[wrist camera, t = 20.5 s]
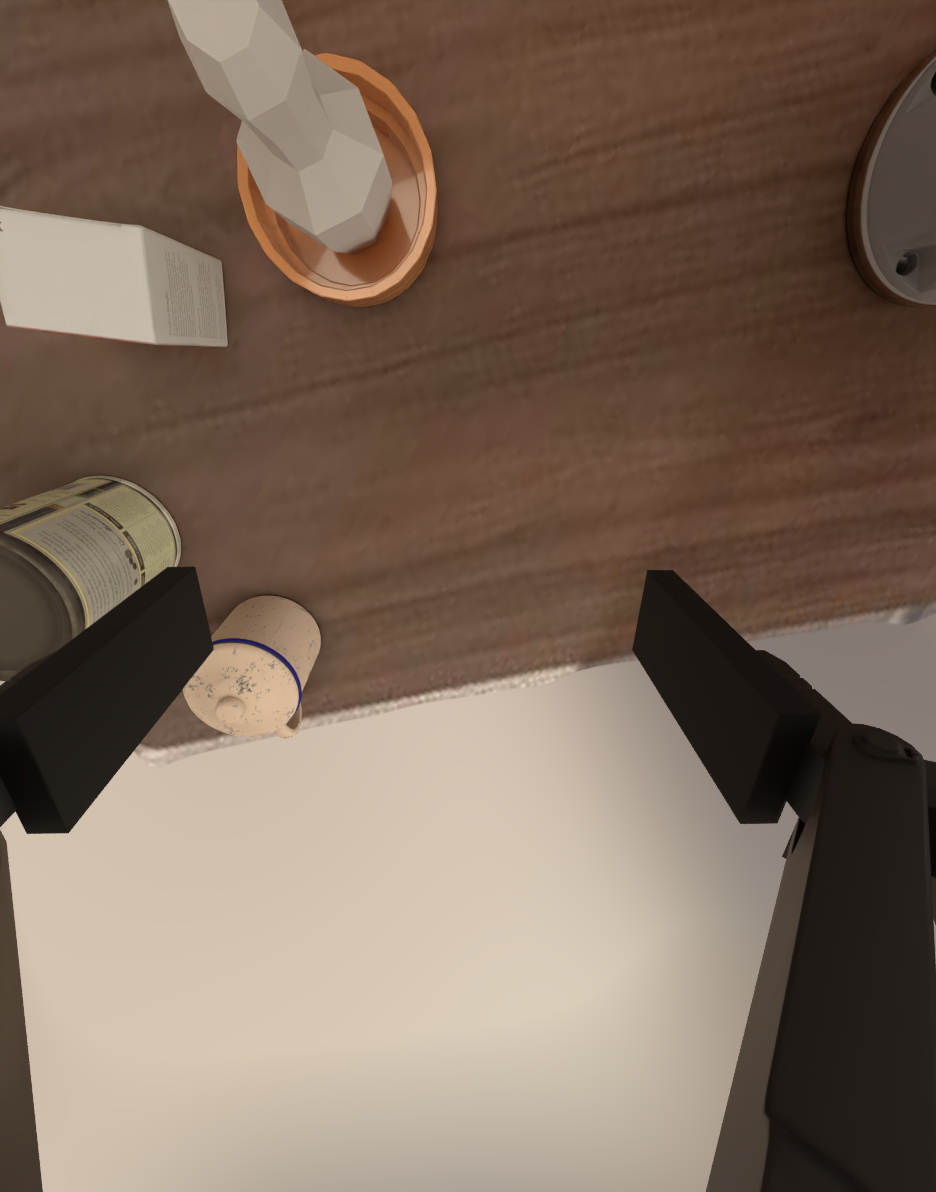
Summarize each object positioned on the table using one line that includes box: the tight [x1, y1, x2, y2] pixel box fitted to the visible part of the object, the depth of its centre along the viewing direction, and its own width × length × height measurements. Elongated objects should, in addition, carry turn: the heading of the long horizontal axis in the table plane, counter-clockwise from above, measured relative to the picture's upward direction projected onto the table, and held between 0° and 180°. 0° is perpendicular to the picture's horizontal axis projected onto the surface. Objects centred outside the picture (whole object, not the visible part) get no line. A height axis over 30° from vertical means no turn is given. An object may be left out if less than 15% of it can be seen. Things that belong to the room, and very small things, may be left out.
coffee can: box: [0, 475, 181, 681], centre depth 37 cm, size 10×10×14 cm
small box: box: [0, 206, 228, 347], centre depth 31 cm, size 8×6×10 cm
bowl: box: [237, 53, 438, 308], centre depth 31 cm, size 11×11×6 cm
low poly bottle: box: [168, 0, 392, 255], centre depth 23 cm, size 6×6×22 cm
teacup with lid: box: [183, 596, 321, 738], centre depth 43 cm, size 12×9×12 cm
